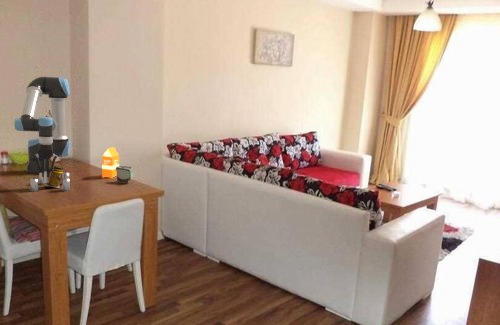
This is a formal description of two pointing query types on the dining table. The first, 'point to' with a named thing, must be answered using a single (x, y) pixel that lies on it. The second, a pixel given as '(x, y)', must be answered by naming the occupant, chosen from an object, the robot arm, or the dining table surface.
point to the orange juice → (110, 163)
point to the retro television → (123, 174)
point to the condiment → (55, 177)
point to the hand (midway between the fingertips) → (45, 182)
